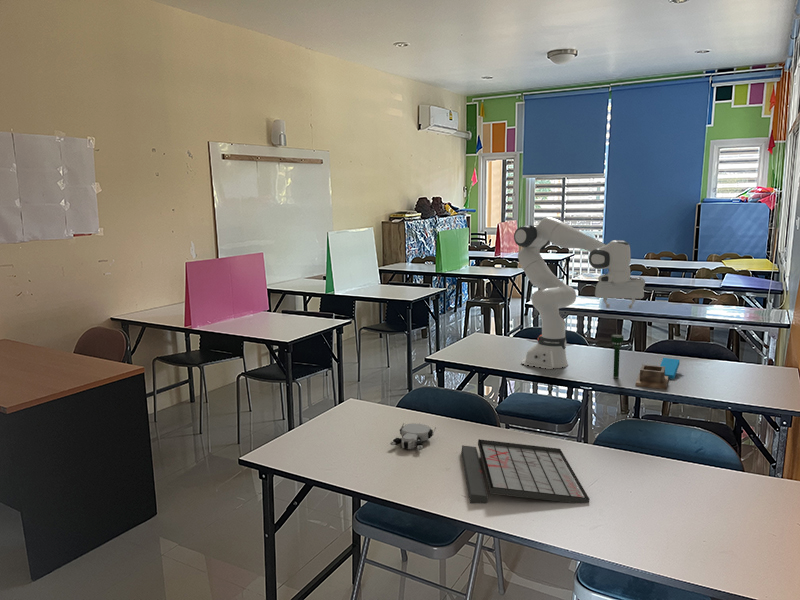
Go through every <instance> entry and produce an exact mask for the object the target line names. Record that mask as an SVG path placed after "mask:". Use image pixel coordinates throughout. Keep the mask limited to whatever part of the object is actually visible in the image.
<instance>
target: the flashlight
mask: <svg viewBox="0 0 800 600" xmlns="http://www.w3.org/2000/svg"><path fill="white" fill-rule="evenodd" d="M624 337H625V336H624V335H623V334H620V333H619V334H618V333H614V334H611V337H610V339H611V343H612V345H613V346H614V349H613V350H614V351H613V354H614V355H613V376H612V377H613V379H614V380H619V373H620V349H621V348H620V347H621V346H622V345H623V343H624Z"/></svg>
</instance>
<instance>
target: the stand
mask: <svg viewBox="0 0 800 600" xmlns="http://www.w3.org/2000/svg"><path fill="white" fill-rule="evenodd" d="M668 382H669V379H668V376H665V367H663V366H660V365H651V364H641V366H640V369H639V373H638V376H637V379H636V380H635V387H642V388H651V389H658V390H659V389H661V390H667V387H668Z"/></svg>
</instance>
